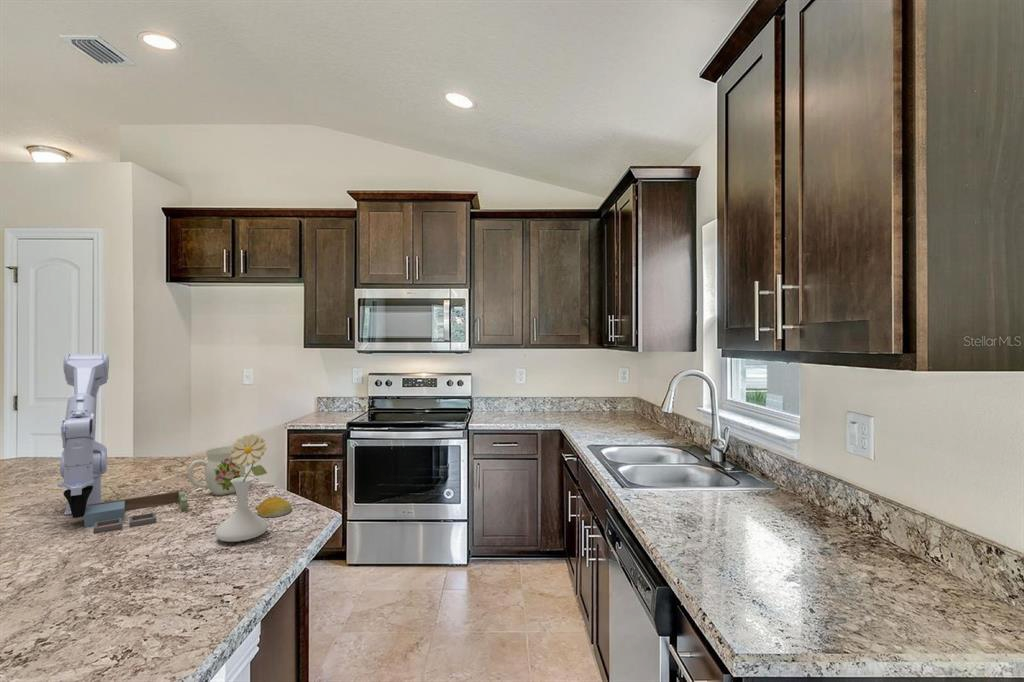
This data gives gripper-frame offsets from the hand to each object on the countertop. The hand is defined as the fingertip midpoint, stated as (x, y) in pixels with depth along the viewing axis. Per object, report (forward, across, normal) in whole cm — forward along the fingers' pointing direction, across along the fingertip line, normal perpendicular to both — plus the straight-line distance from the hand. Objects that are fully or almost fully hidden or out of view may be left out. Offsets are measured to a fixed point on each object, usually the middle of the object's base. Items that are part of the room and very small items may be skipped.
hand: (78, 516), depth 131 cm
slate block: (+2, 0, +5) cm, 6 cm away
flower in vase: (+2, +36, +33) cm, 49 cm away
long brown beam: (+2, 0, +12) cm, 12 cm away
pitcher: (+2, -9, +33) cm, 35 cm away
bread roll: (+2, +21, +42) cm, 47 cm away
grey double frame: (+2, +9, +10) cm, 13 cm away
